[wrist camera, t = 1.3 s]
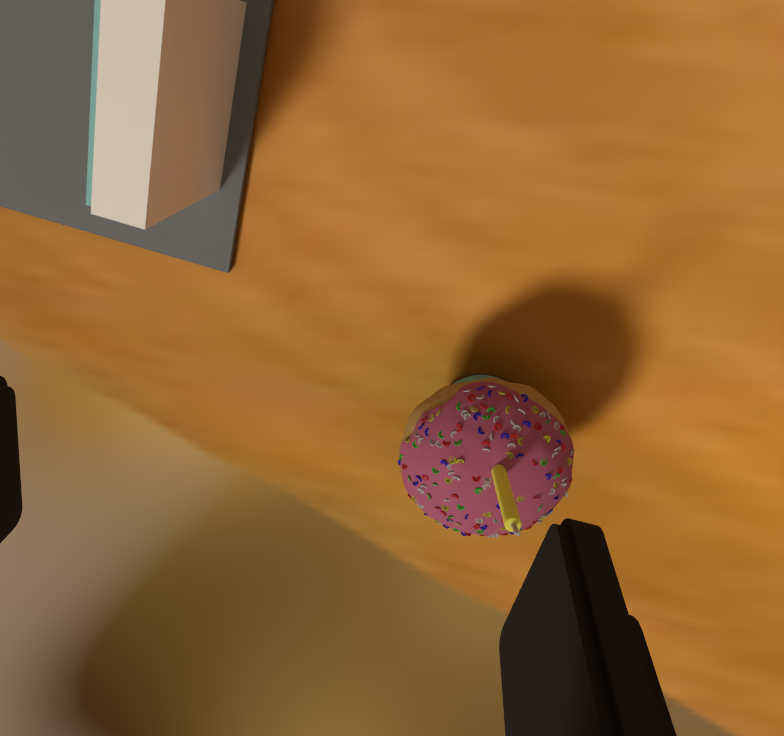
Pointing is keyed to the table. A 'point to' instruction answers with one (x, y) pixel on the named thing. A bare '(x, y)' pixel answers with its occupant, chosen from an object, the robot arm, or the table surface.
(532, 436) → the cupcake
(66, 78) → the mat
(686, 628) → the table surface
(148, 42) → the tile
